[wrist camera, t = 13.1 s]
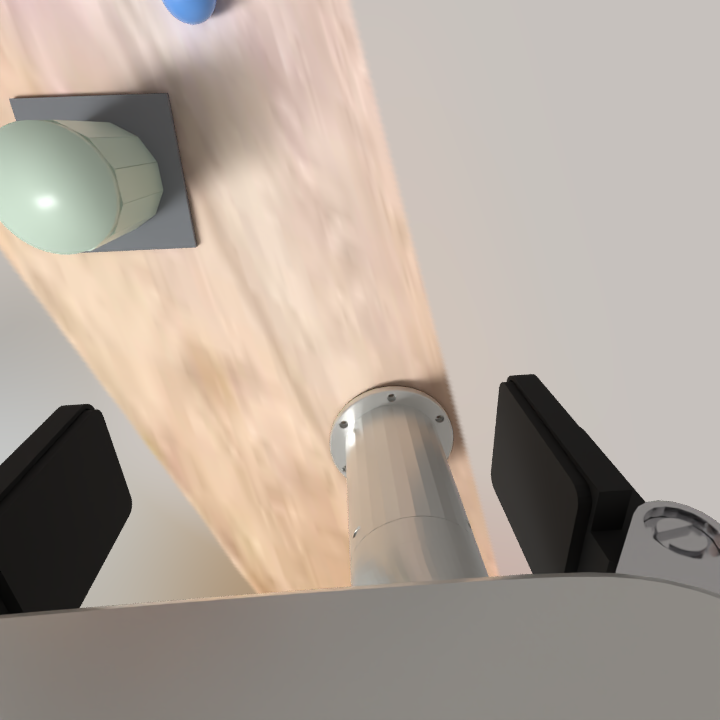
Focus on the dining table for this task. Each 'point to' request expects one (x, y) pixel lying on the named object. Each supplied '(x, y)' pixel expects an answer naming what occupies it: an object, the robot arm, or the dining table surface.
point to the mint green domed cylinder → (74, 183)
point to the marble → (191, 10)
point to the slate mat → (157, 133)
